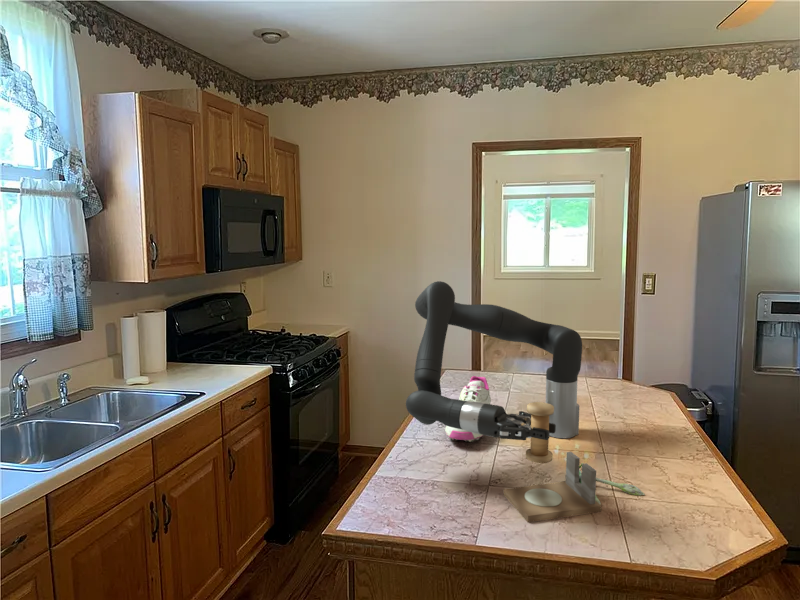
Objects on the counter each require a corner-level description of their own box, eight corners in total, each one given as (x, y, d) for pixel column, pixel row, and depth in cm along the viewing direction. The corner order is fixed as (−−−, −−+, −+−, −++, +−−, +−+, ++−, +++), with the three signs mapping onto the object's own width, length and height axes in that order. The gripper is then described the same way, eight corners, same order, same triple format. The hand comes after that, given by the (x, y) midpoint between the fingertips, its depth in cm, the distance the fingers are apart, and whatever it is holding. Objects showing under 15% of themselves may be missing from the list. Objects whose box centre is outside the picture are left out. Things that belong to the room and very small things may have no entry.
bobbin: (544, 451, 137) (546, 401, 135) (557, 461, 131) (558, 409, 129) (521, 454, 135) (522, 403, 134) (532, 464, 130) (534, 411, 128)
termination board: (571, 486, 143) (572, 449, 142) (600, 511, 130) (602, 472, 129) (503, 495, 139) (504, 457, 137) (527, 522, 126) (528, 481, 125)
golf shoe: (437, 448, 168) (437, 398, 166) (459, 411, 199) (459, 369, 197) (480, 452, 164) (480, 401, 162) (495, 414, 195) (495, 371, 193)
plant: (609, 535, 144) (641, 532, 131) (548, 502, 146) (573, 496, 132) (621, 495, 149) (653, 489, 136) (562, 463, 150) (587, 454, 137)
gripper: (470, 412, 133) (542, 425, 124) (494, 395, 145) (561, 407, 136) (469, 443, 134) (541, 458, 125) (493, 424, 146) (560, 437, 137)
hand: (551, 431), depth 131 cm, fingers closed on bobbin, 4 cm apart
